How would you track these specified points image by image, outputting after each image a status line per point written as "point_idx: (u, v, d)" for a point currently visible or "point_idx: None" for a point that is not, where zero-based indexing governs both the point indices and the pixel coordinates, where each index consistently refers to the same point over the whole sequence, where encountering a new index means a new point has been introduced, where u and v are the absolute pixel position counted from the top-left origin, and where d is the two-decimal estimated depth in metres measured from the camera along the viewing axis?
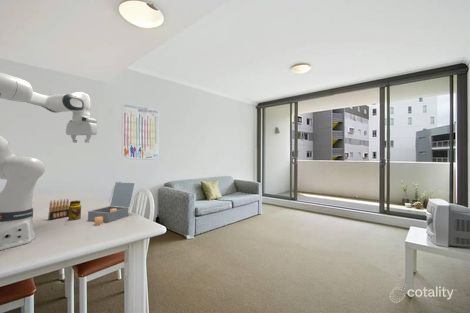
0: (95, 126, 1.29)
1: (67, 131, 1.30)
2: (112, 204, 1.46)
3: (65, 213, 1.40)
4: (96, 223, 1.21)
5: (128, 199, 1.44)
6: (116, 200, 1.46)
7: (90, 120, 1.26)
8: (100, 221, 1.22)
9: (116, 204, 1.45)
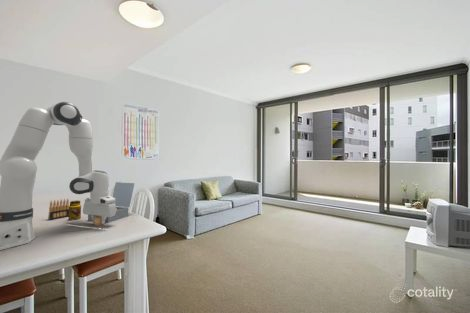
0: (114, 206, 1.22)
1: (84, 211, 1.24)
2: None
3: (65, 213, 1.40)
4: (96, 223, 1.21)
5: (128, 199, 1.44)
6: (116, 200, 1.46)
7: (109, 202, 1.19)
8: None
9: (116, 204, 1.45)
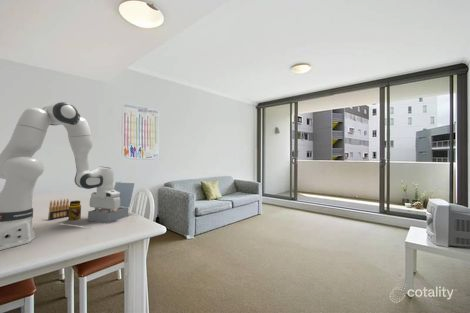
0: (119, 199, 1.31)
1: (91, 204, 1.33)
2: None
3: (65, 213, 1.40)
4: None
5: (128, 199, 1.44)
6: None
7: (114, 195, 1.29)
8: None
9: None
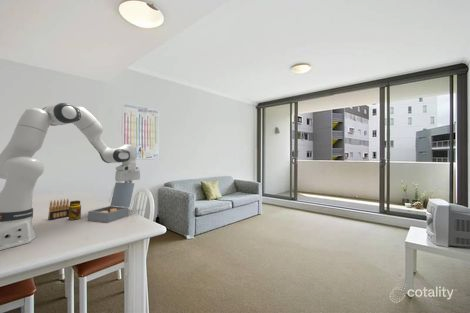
0: (119, 173, 1.42)
1: None
2: (112, 204, 1.46)
3: (65, 213, 1.40)
4: None
5: (128, 199, 1.44)
6: (116, 200, 1.46)
7: (117, 169, 1.44)
8: None
9: (116, 204, 1.45)
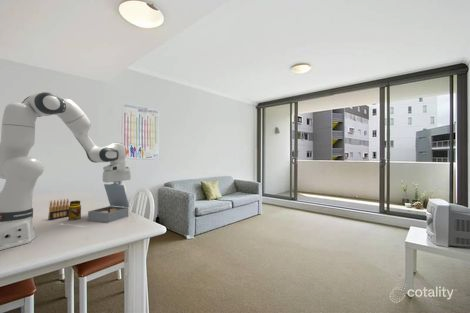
0: (107, 173, 1.33)
1: None
2: (111, 204, 1.45)
3: (65, 213, 1.40)
4: None
5: (125, 200, 1.41)
6: (114, 201, 1.44)
7: (104, 169, 1.34)
8: None
9: (115, 204, 1.44)
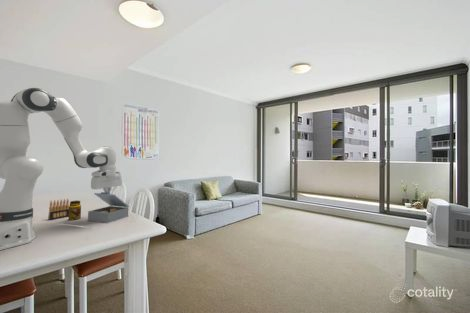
0: (95, 180, 1.25)
1: None
2: (111, 205, 1.45)
3: (65, 213, 1.40)
4: None
5: (122, 203, 1.39)
6: (112, 203, 1.42)
7: (93, 175, 1.27)
8: None
9: (115, 205, 1.44)
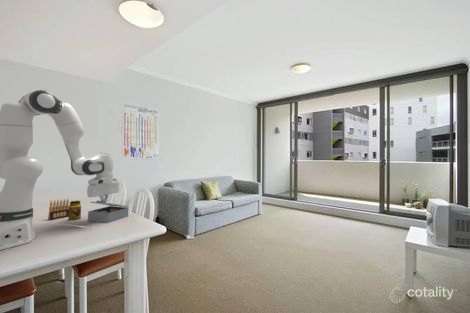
0: (92, 188, 1.23)
1: None
2: (111, 205, 1.45)
3: (65, 213, 1.40)
4: None
5: (122, 206, 1.38)
6: (111, 205, 1.41)
7: (89, 182, 1.24)
8: None
9: None
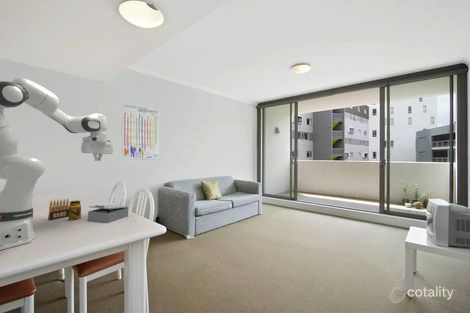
0: (86, 144, 1.28)
1: None
2: None
3: (65, 213, 1.40)
4: None
5: (121, 207, 1.38)
6: (111, 206, 1.41)
7: (83, 139, 1.30)
8: None
9: (114, 206, 1.44)
